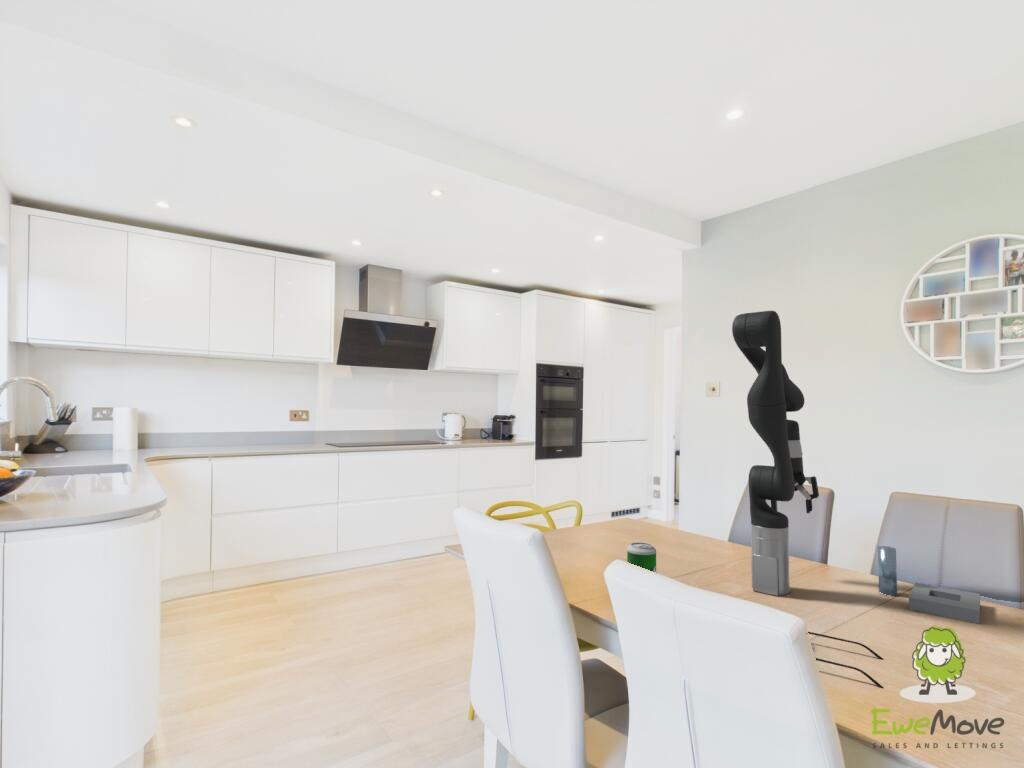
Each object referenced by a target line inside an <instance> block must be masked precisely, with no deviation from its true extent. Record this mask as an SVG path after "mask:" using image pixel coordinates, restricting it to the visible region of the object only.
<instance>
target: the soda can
mask: <svg viewBox="0 0 1024 768" xmlns="http://www.w3.org/2000/svg"><path fill="white" fill-rule="evenodd" d="M629 544H630V545H629V546H627V548H626V549H627V550H626V554H627V555H626V556H627V557H626V559H627V560H626V561H627V562H629V563H631V564H634V565H637V566H640V567H642V568H645V569H648V570H650V571H653V572H656V573H657V549H656V548H655V547H654V545H653V544H652V543H648V542H641V541H640V542H637V541H636V542H632V543H629Z"/></svg>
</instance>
